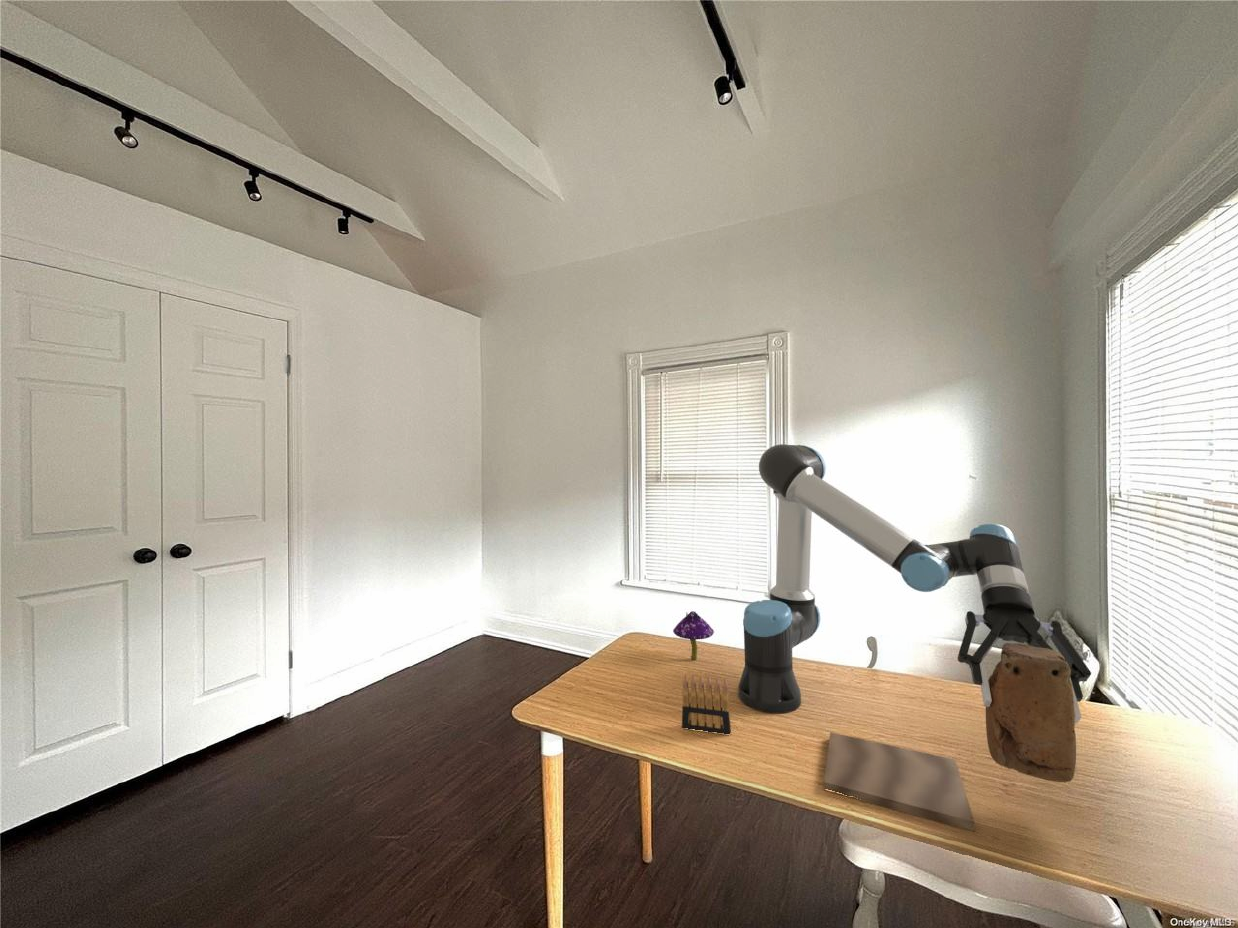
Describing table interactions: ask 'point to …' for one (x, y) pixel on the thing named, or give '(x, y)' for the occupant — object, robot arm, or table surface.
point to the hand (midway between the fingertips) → (1030, 711)
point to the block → (1032, 713)
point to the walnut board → (898, 779)
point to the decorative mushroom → (693, 630)
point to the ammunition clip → (705, 707)
